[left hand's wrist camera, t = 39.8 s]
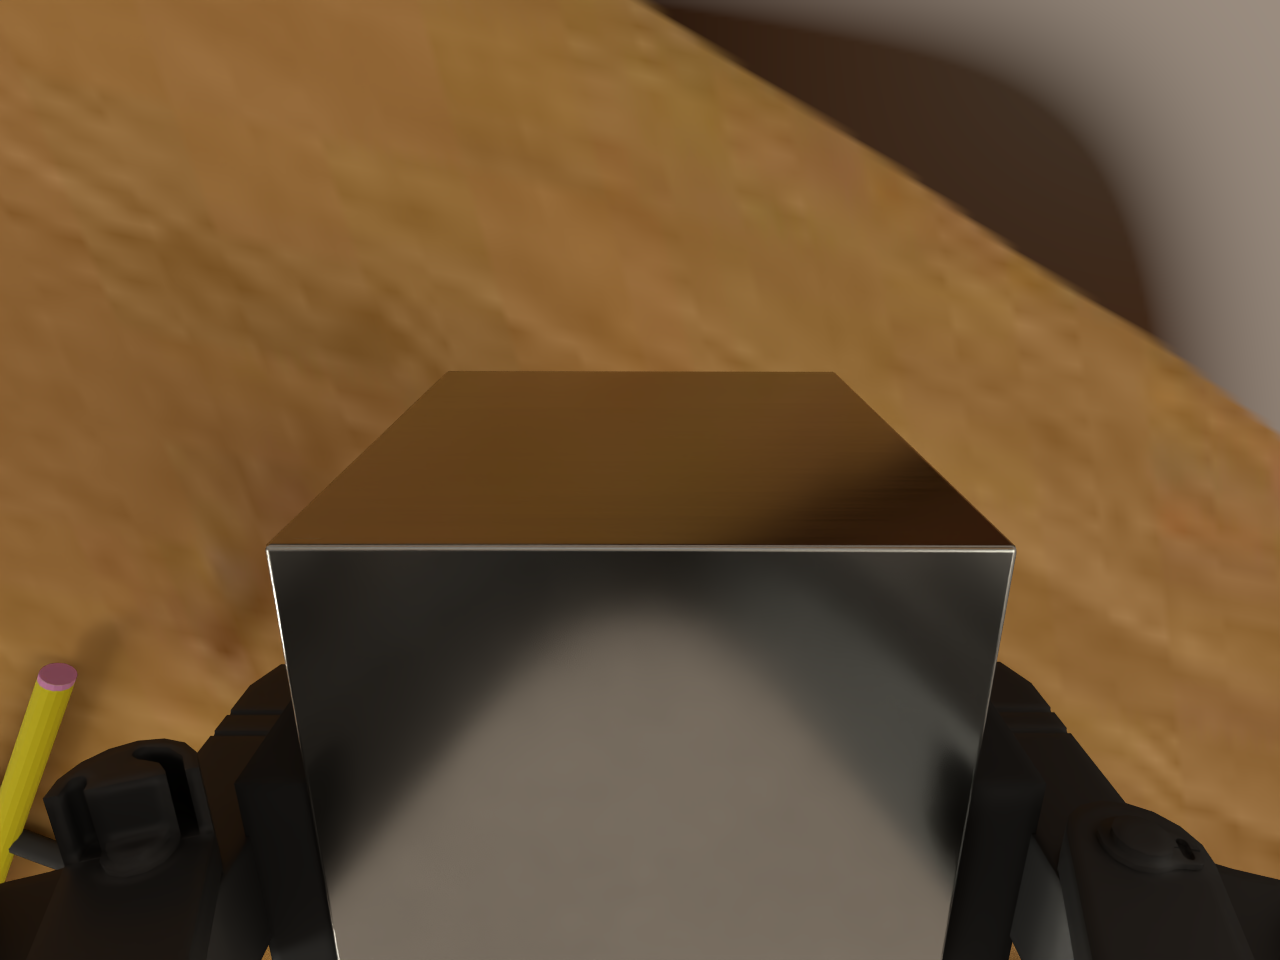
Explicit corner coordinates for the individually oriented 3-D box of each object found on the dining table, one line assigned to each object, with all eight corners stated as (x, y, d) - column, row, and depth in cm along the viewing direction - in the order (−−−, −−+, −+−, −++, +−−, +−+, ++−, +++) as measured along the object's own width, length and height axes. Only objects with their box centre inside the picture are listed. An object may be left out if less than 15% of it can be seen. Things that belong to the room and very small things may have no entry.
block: (446, 370, 13) (261, 544, 7) (835, 370, 13) (1020, 547, 7) (478, 752, 16) (367, 1138, 10) (801, 753, 16) (912, 1140, 10)
